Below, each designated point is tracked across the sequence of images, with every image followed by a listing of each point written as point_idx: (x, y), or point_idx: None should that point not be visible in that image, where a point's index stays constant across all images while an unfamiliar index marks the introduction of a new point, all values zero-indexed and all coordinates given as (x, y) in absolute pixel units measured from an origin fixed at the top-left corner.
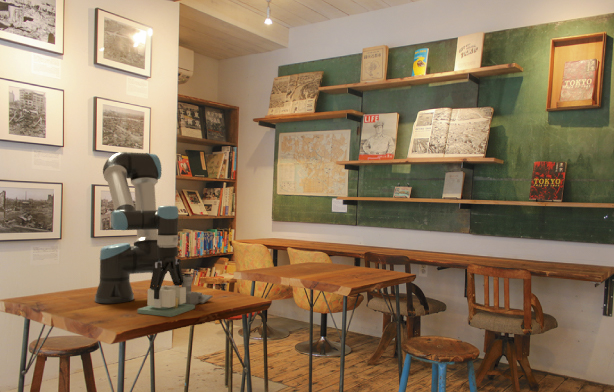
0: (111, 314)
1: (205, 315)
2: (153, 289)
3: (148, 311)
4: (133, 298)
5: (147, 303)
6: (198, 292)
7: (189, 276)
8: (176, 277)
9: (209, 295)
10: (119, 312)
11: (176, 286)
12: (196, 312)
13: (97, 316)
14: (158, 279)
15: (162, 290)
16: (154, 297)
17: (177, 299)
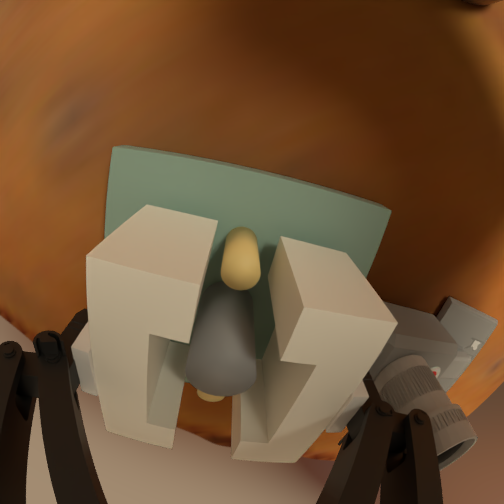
0: (79, 27)
1: (190, 431)
2: (28, 360)
3: (108, 233)
4: (476, 3)
5: (142, 208)
6: (465, 365)
7: (462, 448)
8: (322, 496)
9: (450, 385)
10: (128, 29)
11: (319, 425)
12: (228, 406)
13: (42, 7)
14: (21, 454)
15: (105, 396)
16: (75, 319)
17: (210, 397)
